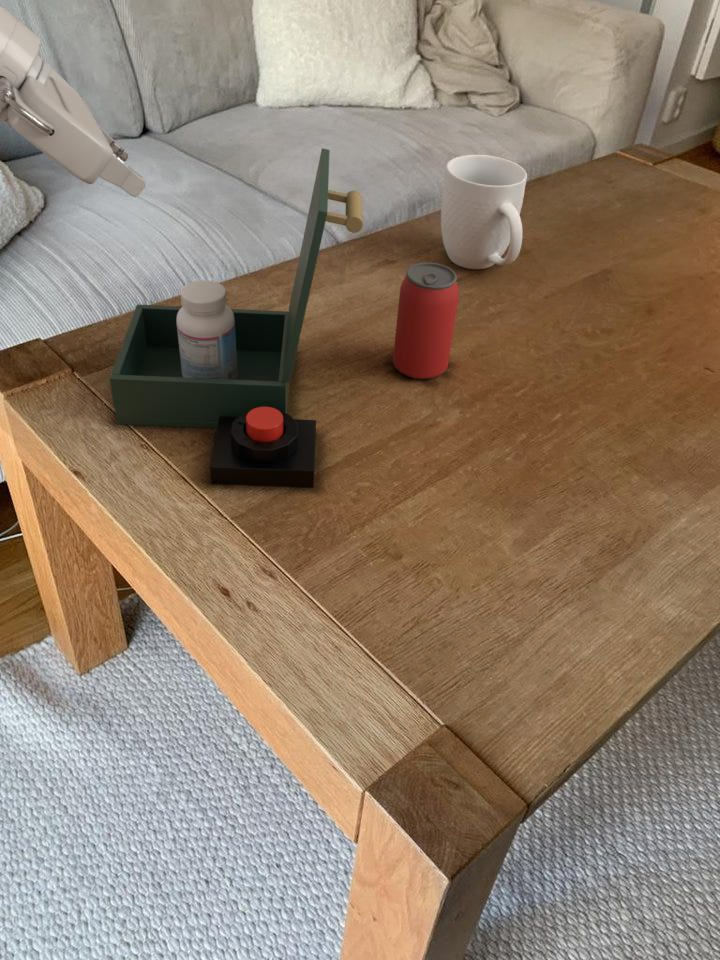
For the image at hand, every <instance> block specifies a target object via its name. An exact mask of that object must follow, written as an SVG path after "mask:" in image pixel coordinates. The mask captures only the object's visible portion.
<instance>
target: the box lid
mask: <svg viewBox="0 0 720 960" xmlns="http://www.w3.org/2000/svg"><path fill="white" fill-rule="evenodd" d="M330 153H331V152H330V149H328V148H324V147H323V148H321V150H320V156H319V160H318V165H317V170H316V175H315V179H314V185H313V189H312V193H311V199H310V203H309V208H308V214H307V218H306V222H305V228H304V233H303V237H302V242H301V247H300V253H299V256H298V262H297V267H296V271H295V276H294V280H293V281H294V282H293V286H292V291H291V297H290V301H289V305H288V312H289V313H288V324H287V334H286V344H285V355H284V365H283V375H282V382H287V383H290V384H291V379H292V374H293V370H294V365H295V361H296V356H297V352H298V348H299V343H300V338H301V333H302V329H303V325H304V320H305V315H306V311H307V306H308V303H309V299H310V293H311V289H312V284H313V280H314V275H315V270H316V266H317V262H318V259H319V253H320V249H321V248H320V247H321V243H322V239H323V234H324V231H325V226H326V222H327V223H331V224H335V225H341V226H345V228H346V230H348V232H350V233H353V234H355V233H356V234H357V233H359V232H360V231H362V229H363V228H364V227H363V226H364V219H363V218H364V216H363V195H362V194H361V193H360V192H359V191H358V190H350V191H349V192H347V193H344V192H340V191H336V190H332V189H329V180H330V179H329V178H330V177H329V175H330ZM329 200H330V201H333V202H334V201H336V202H339V203H344V204H345V215H344V214H341V213H337V212H336V213H335V212H331V211H329V209H328V205H329Z"/></svg>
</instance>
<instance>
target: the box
mask: <svg viewBox="0 0 720 960" xmlns="http://www.w3.org/2000/svg"><path fill="white" fill-rule="evenodd" d="M181 308H182V306H179V305H178V306H177V305H160V304H159V305H158V304H157V305H156V304H136V305H135V308H134V311H133V314H132V317H131V319H130V322H129V324H128V327H127V331H126V333H125V336H124V338H123V342H122V344H121V347H120V350H119V352H118V355H117V357H116V360H115V363H114V366H113V369H112V372H111V374H110V376H109V385H110V389H111V391H110V392H111V396H112V401H113V408H114V413H115V418H116V419H115V420H116V424H117V425H124V426H125V425H129V426H153V427H176V428H177V427H179V428H201V429H202V428H203V429H204V428H205V429H217V426H218V420H219V416H226V417H239V416H240V415H241V414H242V413H245V412H248V411H251V410H252V409H255V408H258V407H272V408H275V409H277V410H279V411H282V412H284V413H287V414H288V409H289V408H288V407H289V397H290V396H289V395H290V385H291V382H290V383H287V382H282V375H283V365H284V355H285V344H286V334H287V324H288V313H289V310H287V311H286V310H265V309H264V310H263V309H243V308H242V309H241V308H230V309H231V310H232V312H233V314H234V320H235V334H236V351H237V368H238V379H237V380H231V379H207V378H183V377H182V368H181V359H180V350H179V341H178V332H177V321H176V319H177V314H178V312H179V310H180V309H181Z"/></svg>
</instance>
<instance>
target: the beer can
mask: <svg viewBox="0 0 720 960" xmlns="http://www.w3.org/2000/svg"><path fill="white" fill-rule="evenodd" d="M457 282H458V275H457V273H456V272H455V271H454V270H453V269H452V268H451V267H449V266H446V265H445V264H441V263H437V262H430V261H429V262H420V263H414V264H413V265H411V266H409V267H408V268H407V270H406V274H405V276H404V278H403V280H402V282H401V284H400V287H399V297H398V299H399V300H398V307H397V316H396V325H395V335H394V346H393V355H392V363H393V365H394V367H395V368H396V369H397V370H398V372H400V373H401V374H403V375H404V376H407V377H409V378H412V379H418V380H428V379H434V378H437V377H439V376H440V375H442V374H443V373H445V371H446V370H447V368H448V367H449V362H450V361H449V360H450V355H451V348H452V343H453V342H452V341H453V335H454V329H455V324H456V318H457V317H456V316H457V311H458V305H459V298H460V297H459V293H460V292H459V286H458V283H457Z"/></svg>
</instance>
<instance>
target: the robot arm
mask: <svg viewBox="0 0 720 960" xmlns="http://www.w3.org/2000/svg"><path fill="white" fill-rule="evenodd" d="M41 45H42V40H41V38H40V36H38V35H37V34H36V33H34V32H33V30H31V29H30V28H29V27H27V26H26V25H25V24H23V23H22V22H21V21H20V20H18V18H16V17H15V16H13V14H11V13H10V12H9V11H8V10H6V9H5V8H4V7H3V6H1V5H0V122H3V124H5V125H6V126H7V127H9V128H13V129H14V130H15V131H16V132H17V133H18V134H19V135H21V136H22V137H23V138H24V139H25V140H26V141H28V142H29V143H30V144H31V145H32V146H34V147H35V148H36V149H38V150H39V151H40V152H42V153H43V154H44V155H46V157H48V158H49V159H50V160H52V161H53V162H55V163H56V164H57V165H59V167H61V168H62V169H64V170H66V171H67V172H68V173H69V174H71V175H72V176H73V177H75V178H76V179H78V180H79V181H81V182H83V183H85V184H86V185H87V184H88V185H93V184H94V183H95V182H96V181H97V180H98V178H101V179H102V180H104V181H106V182H107V183H109V184H112V185H114V186H116V187H118V188H120V189H121V190H123V191H124V192H126V193H127V194H128V195H129V196H131V197H133V198H136V197H139V196H140V194H142V192H143V191H144V189H145V188H146V185H147V184H146V181H145V179H144V178H143V176H142V175H141V174H139V173H138V172H136V171H135V170H134V169H133V168H131V166H128V165H127V164H125V162H126V161H127V160H128V159H129V154H128V152H127V150H126V148H125V147H123V146H122V145H121V144H120V143H118V142H117V141H116V140H115V139H113V138H112V137H111V136H110V135H109V134H108V132H107V131H105V130H104V129H103V128H102V127H101V126H100V125H99V124H98V122H97V121H96V118H95V117H94V115H93V114H92V112H91V109H90V108H89V106H88V105H87V102H86V101H85V100H84V98H82V96H81V95H80V94H79V93H78V92H77V91H76V90H75V89H74V88H73V87H72V86H71V85H70V84H69V83H68V82H67V81H66V80H65V79H64V78H63V77H62V76H61V75H60V74H59V73H58V72H56V70H55V69H54V68H53V67H52V66H51V64H49V63H48V62H47V61H45V59H43V58H42V57H41V56H40V55H39V51H40V49H41Z"/></svg>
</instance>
